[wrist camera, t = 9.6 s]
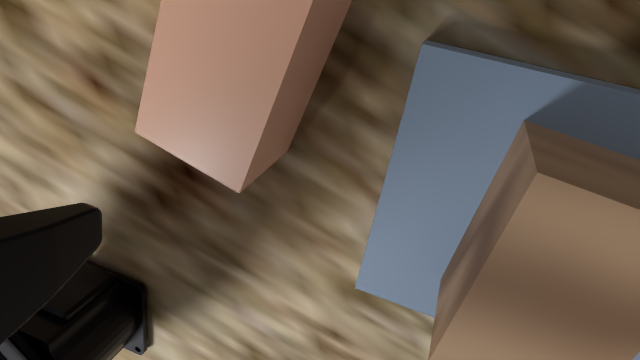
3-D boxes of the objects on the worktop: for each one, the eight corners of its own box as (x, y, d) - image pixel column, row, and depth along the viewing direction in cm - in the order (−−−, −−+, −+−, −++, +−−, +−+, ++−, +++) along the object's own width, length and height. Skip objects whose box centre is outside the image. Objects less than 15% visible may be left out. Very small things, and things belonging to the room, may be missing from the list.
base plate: (631, 371, 20) (638, 393, 19) (360, 274, 23) (354, 288, 22) (814, 130, 14) (839, 142, 13) (425, 39, 17) (421, 43, 16)
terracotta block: (288, 150, 21) (239, 193, 17) (203, 101, 22) (134, 132, 18) (358, -12, 17) (316, -9, 13) (251, -68, 18) (177, -81, 14)
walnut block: (550, 325, 19) (569, 427, 15) (440, 278, 20) (428, 361, 16) (667, 169, 15) (737, 246, 11) (523, 119, 16) (537, 172, 12)
